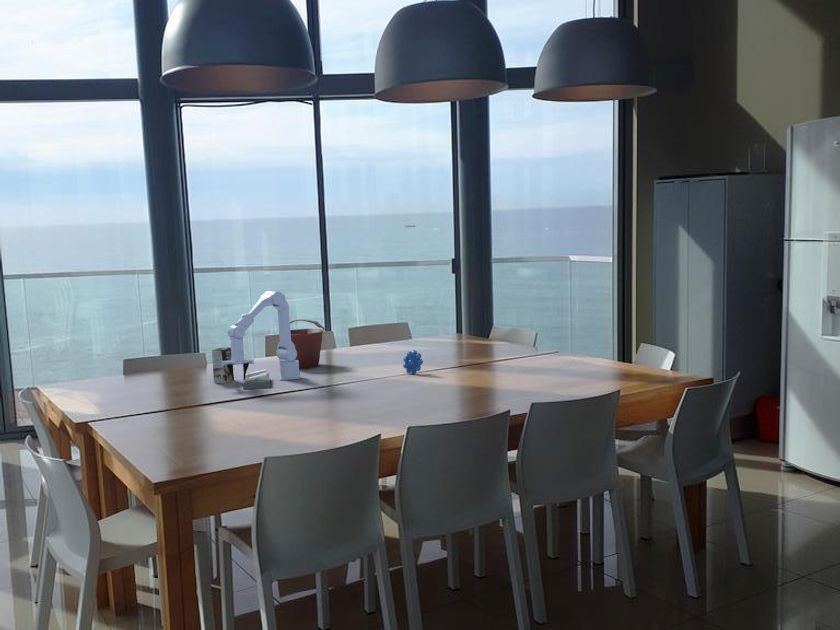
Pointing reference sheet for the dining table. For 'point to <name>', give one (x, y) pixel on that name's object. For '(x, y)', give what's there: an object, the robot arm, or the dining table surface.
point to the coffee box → (220, 371)
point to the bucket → (307, 345)
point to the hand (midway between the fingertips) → (238, 379)
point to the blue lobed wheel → (412, 362)
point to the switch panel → (256, 382)
